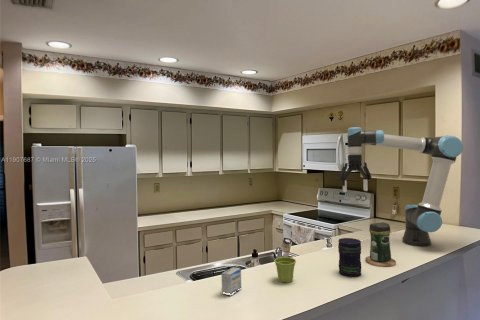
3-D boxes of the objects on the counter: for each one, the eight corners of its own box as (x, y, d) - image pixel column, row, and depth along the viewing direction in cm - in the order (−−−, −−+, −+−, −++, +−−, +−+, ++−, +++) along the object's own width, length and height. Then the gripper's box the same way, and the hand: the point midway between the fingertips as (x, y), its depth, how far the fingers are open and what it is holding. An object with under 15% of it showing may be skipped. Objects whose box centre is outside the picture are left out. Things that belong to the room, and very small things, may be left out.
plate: (382, 256, 169) (382, 254, 169) (402, 265, 155) (402, 263, 155) (359, 259, 165) (359, 256, 165) (377, 268, 152) (377, 265, 152)
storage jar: (345, 268, 153) (344, 236, 153) (365, 273, 146) (364, 240, 146) (334, 273, 146) (334, 241, 146) (355, 279, 139) (354, 245, 139)
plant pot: (282, 286, 133) (282, 265, 133) (270, 278, 141) (270, 259, 141) (300, 281, 137) (300, 261, 137) (287, 274, 146) (287, 255, 146)
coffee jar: (382, 256, 166) (381, 220, 165) (394, 261, 158) (393, 223, 158) (366, 258, 163) (366, 222, 162) (377, 263, 155) (377, 225, 155)
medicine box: (231, 297, 124) (230, 274, 124) (221, 294, 126) (221, 272, 126) (241, 289, 131) (241, 268, 130) (232, 287, 133) (232, 266, 133)
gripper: (369, 154, 191) (369, 189, 191) (331, 154, 185) (332, 191, 185) (377, 153, 184) (378, 190, 184) (338, 154, 178) (339, 192, 178)
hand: (355, 191), depth 185 cm, fingers open, 13 cm apart
